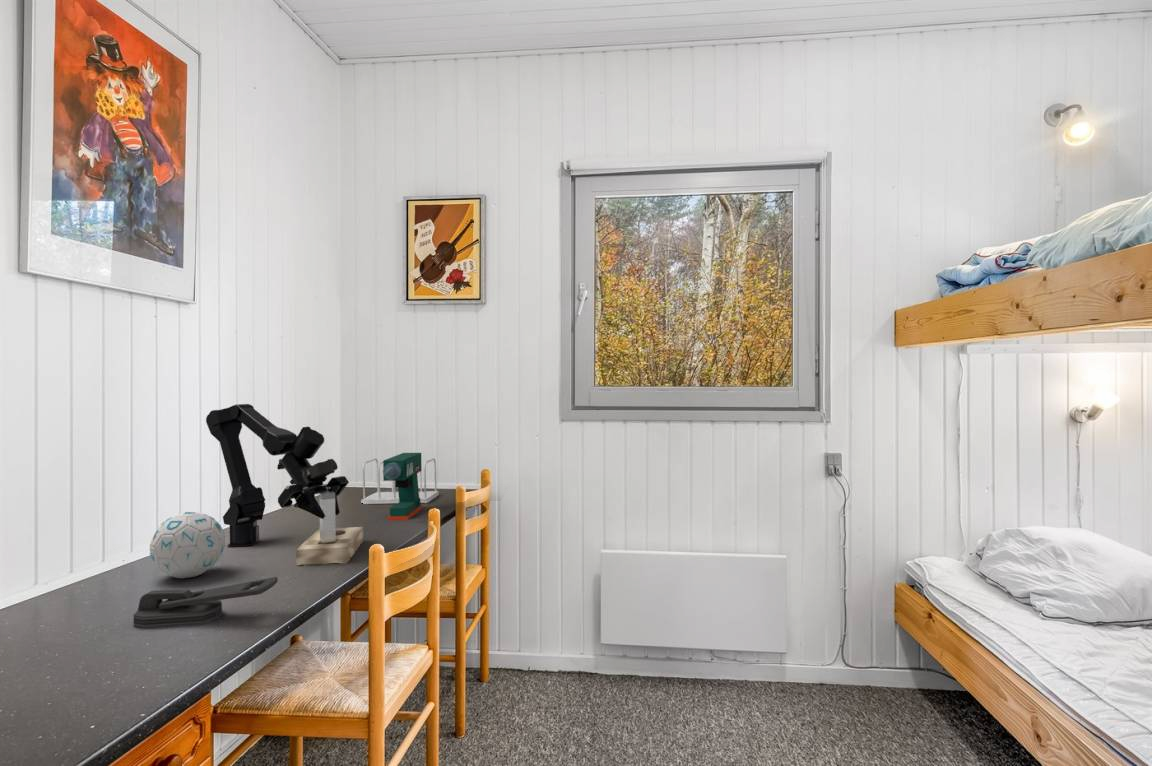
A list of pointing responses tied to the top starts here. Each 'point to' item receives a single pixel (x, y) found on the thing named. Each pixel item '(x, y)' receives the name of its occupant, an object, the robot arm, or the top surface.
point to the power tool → (404, 483)
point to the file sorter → (394, 496)
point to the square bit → (327, 516)
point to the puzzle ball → (187, 544)
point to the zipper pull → (192, 604)
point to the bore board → (330, 547)
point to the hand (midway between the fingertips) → (331, 515)
